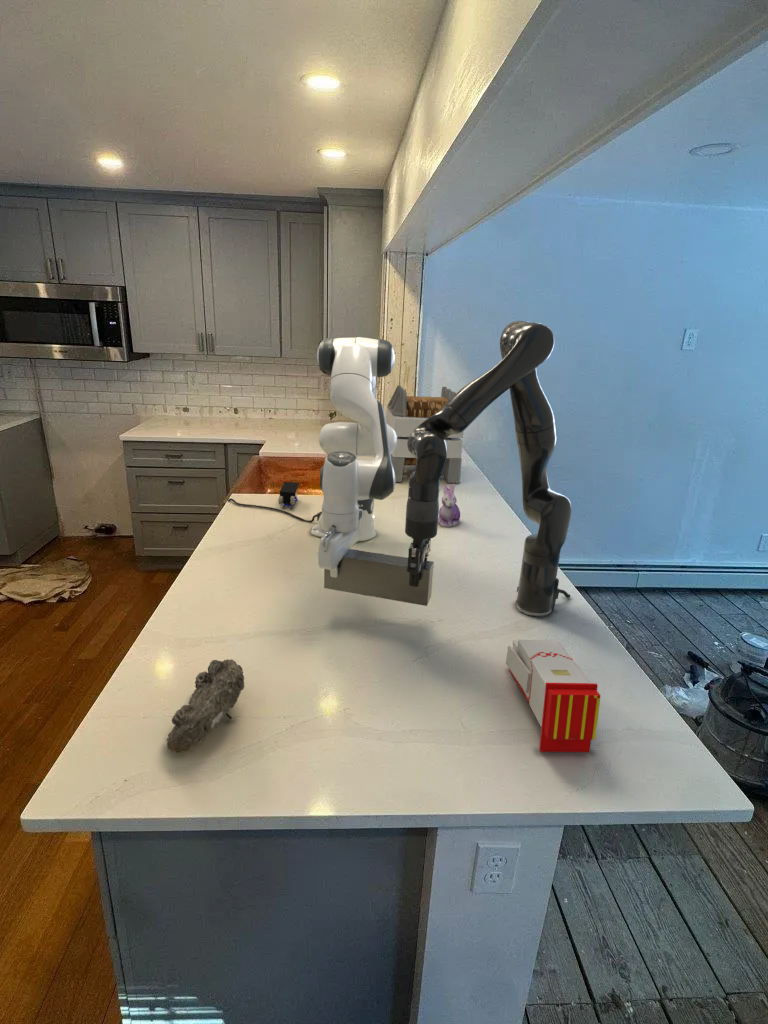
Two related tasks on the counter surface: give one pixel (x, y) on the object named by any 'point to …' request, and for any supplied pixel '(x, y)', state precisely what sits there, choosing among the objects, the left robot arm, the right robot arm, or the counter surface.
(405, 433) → the transformer
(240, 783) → the counter surface
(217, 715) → the fossil
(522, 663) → the toy
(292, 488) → the figurine character
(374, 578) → the bar
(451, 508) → the figurine
